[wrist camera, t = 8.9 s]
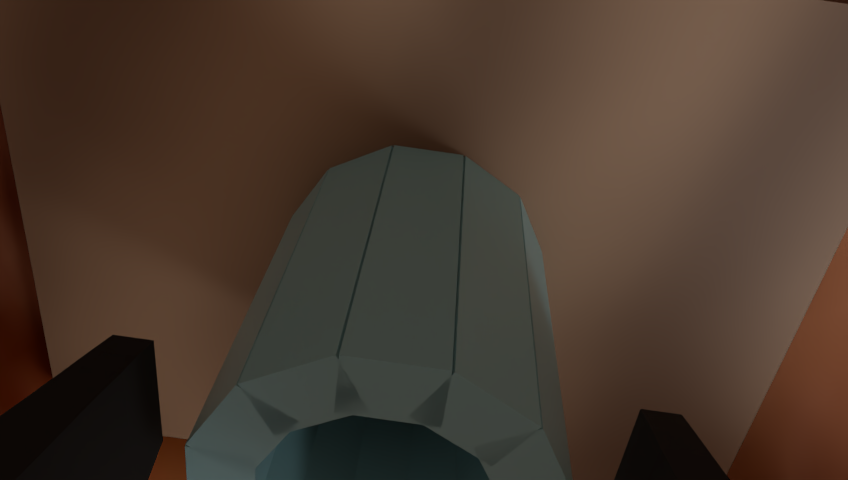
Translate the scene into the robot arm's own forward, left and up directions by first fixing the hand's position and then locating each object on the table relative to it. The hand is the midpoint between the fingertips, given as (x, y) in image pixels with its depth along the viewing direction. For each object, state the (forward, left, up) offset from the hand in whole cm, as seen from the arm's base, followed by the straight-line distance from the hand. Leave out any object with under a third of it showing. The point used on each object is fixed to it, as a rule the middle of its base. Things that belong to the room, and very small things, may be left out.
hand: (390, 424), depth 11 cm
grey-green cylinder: (0, 0, -5) cm, 4 cm away
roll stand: (0, 0, -6) cm, 6 cm away
